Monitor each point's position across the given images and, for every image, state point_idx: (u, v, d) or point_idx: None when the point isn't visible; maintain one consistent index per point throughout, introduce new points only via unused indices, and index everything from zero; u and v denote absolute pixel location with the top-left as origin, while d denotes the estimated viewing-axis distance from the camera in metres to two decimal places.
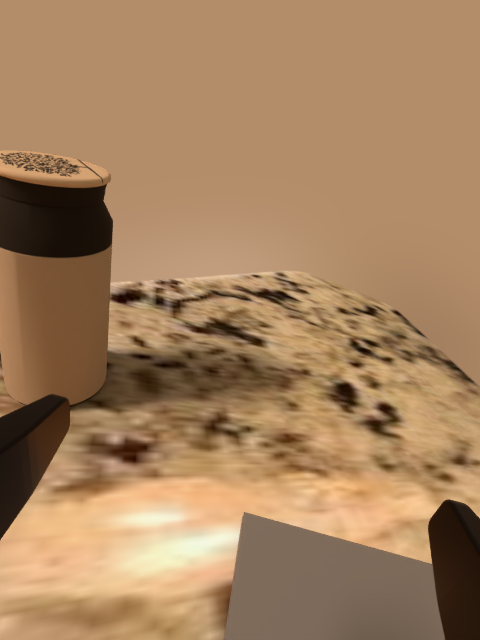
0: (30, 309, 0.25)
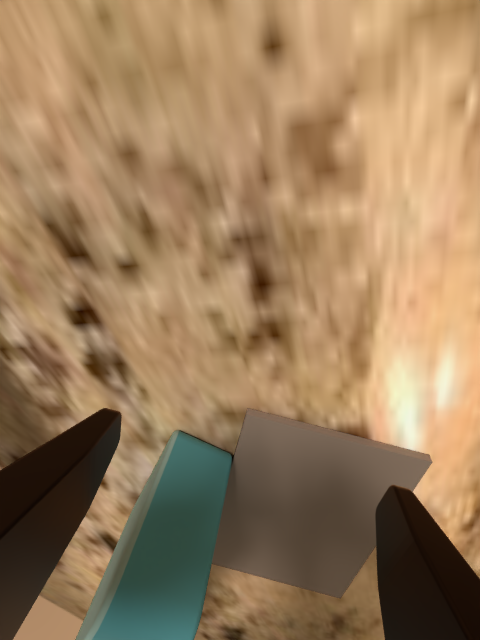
0: None
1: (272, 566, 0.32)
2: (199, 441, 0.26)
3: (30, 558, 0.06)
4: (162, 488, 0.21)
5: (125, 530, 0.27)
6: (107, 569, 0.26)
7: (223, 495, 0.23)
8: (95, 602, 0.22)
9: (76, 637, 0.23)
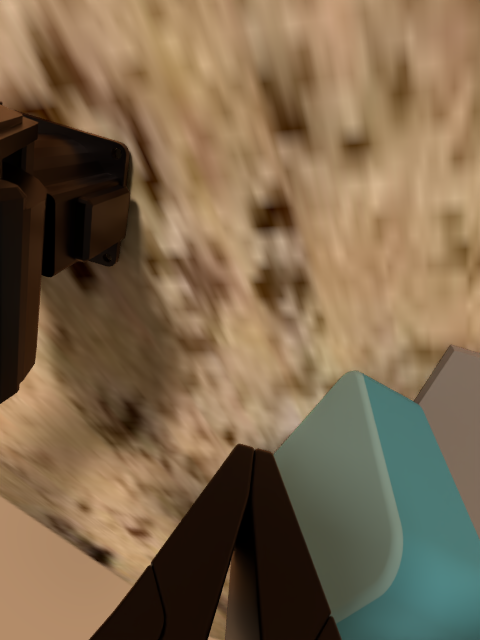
0: None
1: None
2: (382, 384, 0.21)
3: None
4: (381, 428, 0.17)
5: None
6: None
7: (437, 444, 0.19)
8: None
9: None
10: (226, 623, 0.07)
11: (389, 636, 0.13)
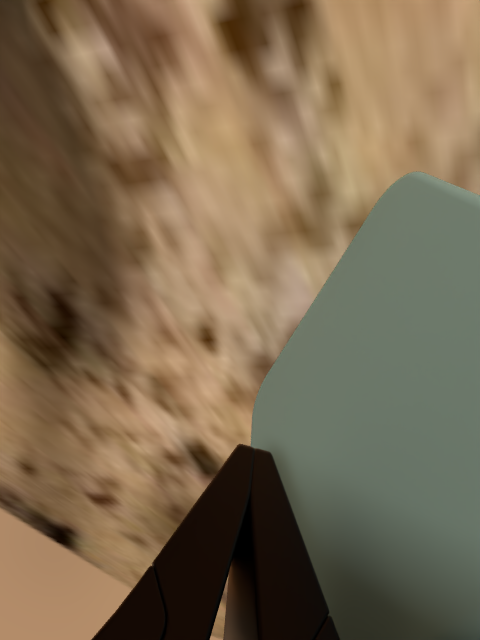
0: None
1: None
2: None
3: None
4: None
5: (292, 398, 0.13)
6: None
7: None
8: (328, 515, 0.08)
9: None
10: (225, 622, 0.07)
11: None
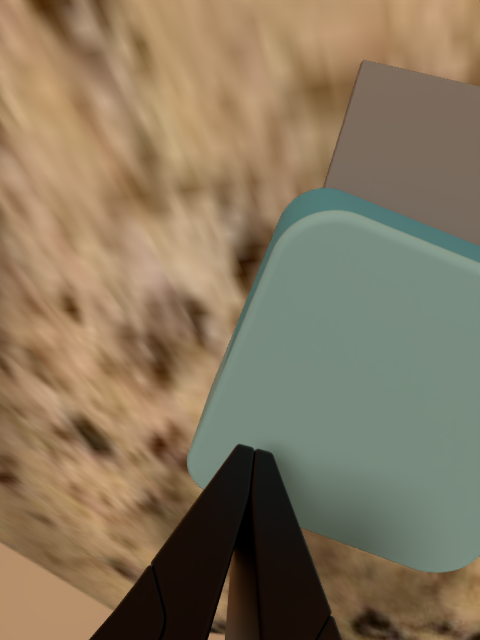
0: None
1: None
2: (322, 200, 0.11)
3: None
4: None
5: (306, 458, 0.13)
6: (340, 502, 0.14)
7: (409, 218, 0.13)
8: (454, 489, 0.13)
9: (396, 556, 0.15)
10: (226, 623, 0.07)
11: None
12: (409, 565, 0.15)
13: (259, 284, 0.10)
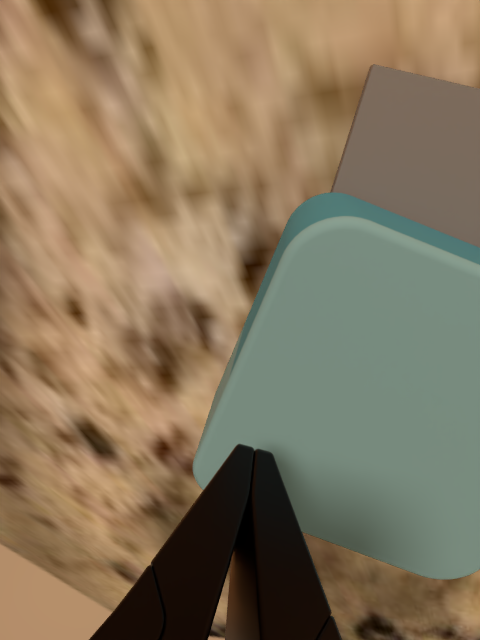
0: None
1: None
2: (332, 205, 0.11)
3: None
4: None
5: (314, 464, 0.13)
6: (347, 508, 0.14)
7: (417, 223, 0.13)
8: (462, 496, 0.13)
9: (403, 563, 0.15)
10: (226, 623, 0.07)
11: None
12: (416, 572, 0.15)
13: (268, 290, 0.10)
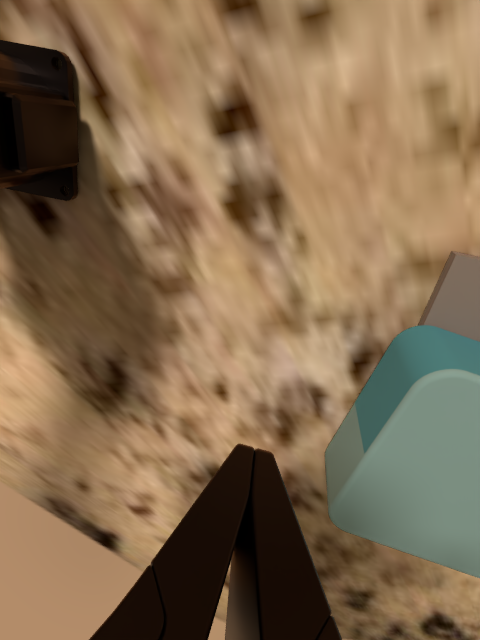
0: None
1: None
2: (435, 349, 0.17)
3: None
4: None
5: (419, 508, 0.19)
6: (440, 536, 0.20)
7: None
8: None
9: (478, 573, 0.21)
10: (226, 623, 0.07)
11: None
12: None
13: (399, 406, 0.17)
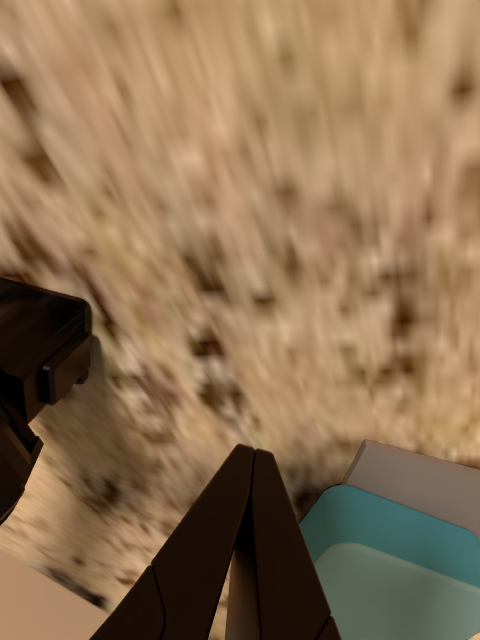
0: None
1: None
2: (347, 517, 0.24)
3: None
4: (420, 561, 0.22)
5: (336, 620, 0.26)
6: (353, 638, 0.27)
7: (388, 500, 0.26)
8: (410, 638, 0.25)
9: None
10: (226, 623, 0.07)
11: None
12: None
13: (319, 560, 0.23)
